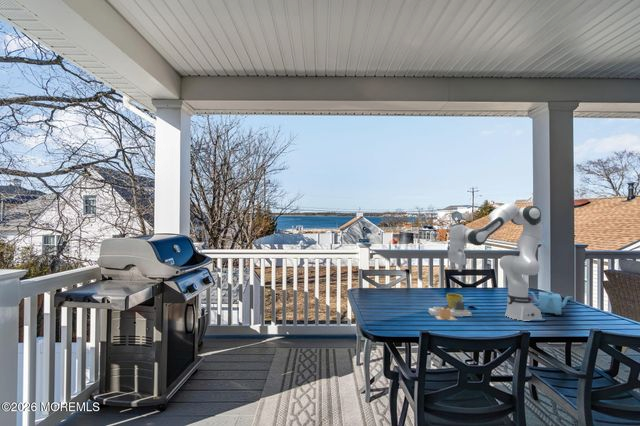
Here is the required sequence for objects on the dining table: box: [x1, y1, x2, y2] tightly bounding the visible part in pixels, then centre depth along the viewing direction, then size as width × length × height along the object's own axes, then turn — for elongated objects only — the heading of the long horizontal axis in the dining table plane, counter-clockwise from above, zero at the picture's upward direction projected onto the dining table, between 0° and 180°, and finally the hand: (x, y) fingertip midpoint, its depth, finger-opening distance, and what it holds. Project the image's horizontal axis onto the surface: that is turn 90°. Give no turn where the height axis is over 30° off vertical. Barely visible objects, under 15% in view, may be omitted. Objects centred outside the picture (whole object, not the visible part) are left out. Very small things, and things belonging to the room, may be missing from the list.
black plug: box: [454, 299, 465, 310], centre depth 216 cm, size 5×4×8 cm
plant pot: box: [445, 293, 464, 309], centre depth 229 cm, size 10×10×10 cm
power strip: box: [427, 306, 472, 317], centre depth 216 cm, size 25×7×4 cm, turn 88°
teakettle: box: [528, 290, 573, 315], centre depth 226 cm, size 25×25×15 cm
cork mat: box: [433, 315, 459, 321], centre depth 207 cm, size 12×7×1 cm, turn 88°
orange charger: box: [439, 304, 450, 319], centre depth 207 cm, size 5×4×8 cm
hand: (456, 270), depth 217 cm, fingers open, 8 cm apart
